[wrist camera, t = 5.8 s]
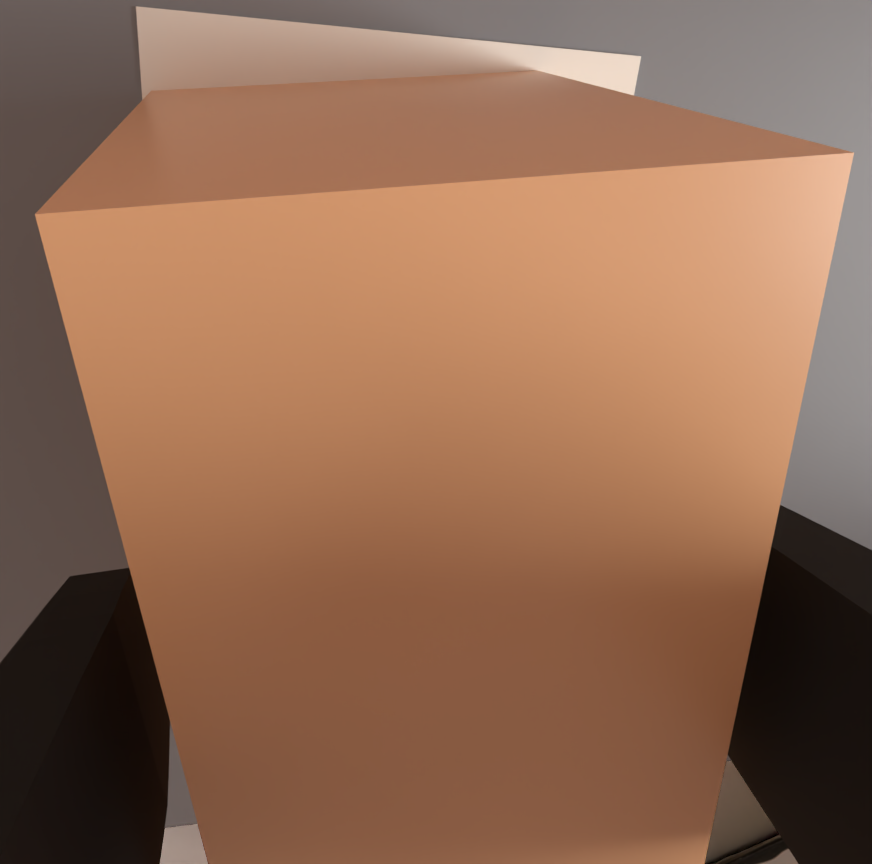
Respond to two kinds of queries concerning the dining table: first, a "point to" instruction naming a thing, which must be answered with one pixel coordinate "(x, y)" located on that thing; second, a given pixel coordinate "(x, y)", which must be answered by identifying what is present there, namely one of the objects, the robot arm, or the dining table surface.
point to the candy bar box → (763, 854)
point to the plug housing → (446, 449)
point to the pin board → (378, 59)
